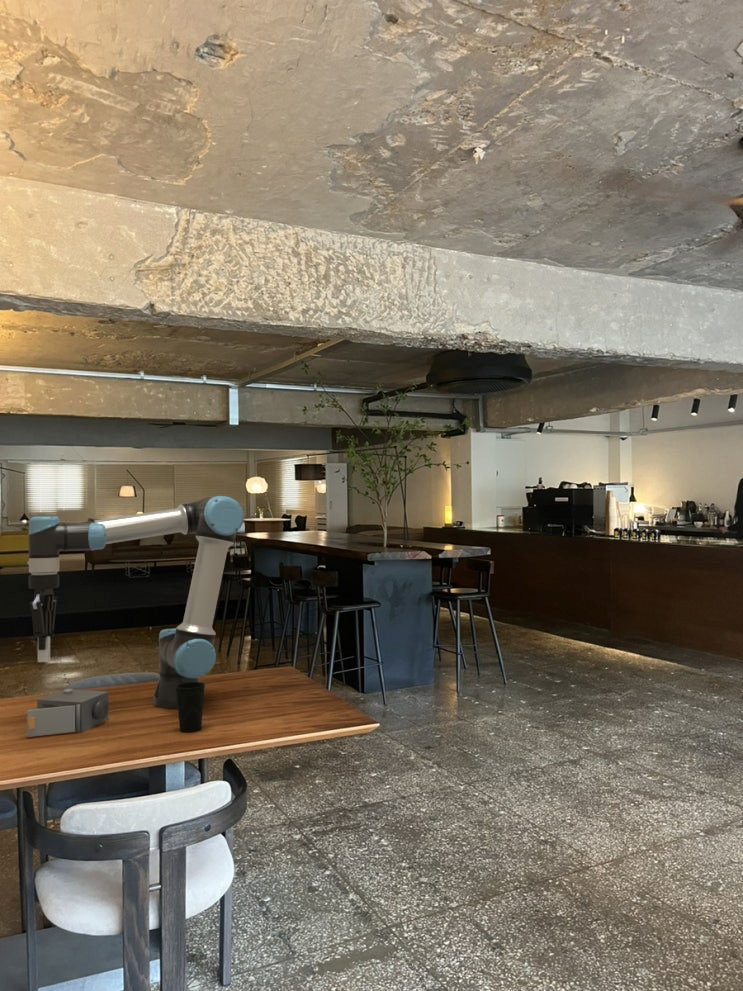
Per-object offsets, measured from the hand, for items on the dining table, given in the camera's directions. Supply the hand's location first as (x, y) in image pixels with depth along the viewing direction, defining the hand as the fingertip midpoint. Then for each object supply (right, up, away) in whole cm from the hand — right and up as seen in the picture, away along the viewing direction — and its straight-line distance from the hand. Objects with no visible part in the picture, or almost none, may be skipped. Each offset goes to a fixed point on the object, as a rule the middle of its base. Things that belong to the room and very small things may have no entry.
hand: (43, 661), depth 193 cm
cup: (+39, -19, +1) cm, 43 cm away
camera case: (+5, -19, +8) cm, 22 cm away
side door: (+3, -19, -3) cm, 19 cm away
